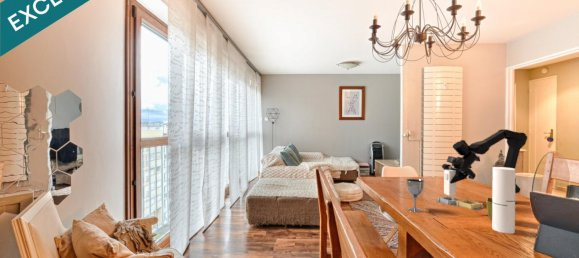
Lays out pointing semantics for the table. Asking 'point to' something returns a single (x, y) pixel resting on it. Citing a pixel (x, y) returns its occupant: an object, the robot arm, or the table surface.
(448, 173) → the plug
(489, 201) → the flower pot
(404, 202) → the table surface
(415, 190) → the wine glass
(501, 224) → the cylindrical container
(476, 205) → the port console
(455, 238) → the table surface
